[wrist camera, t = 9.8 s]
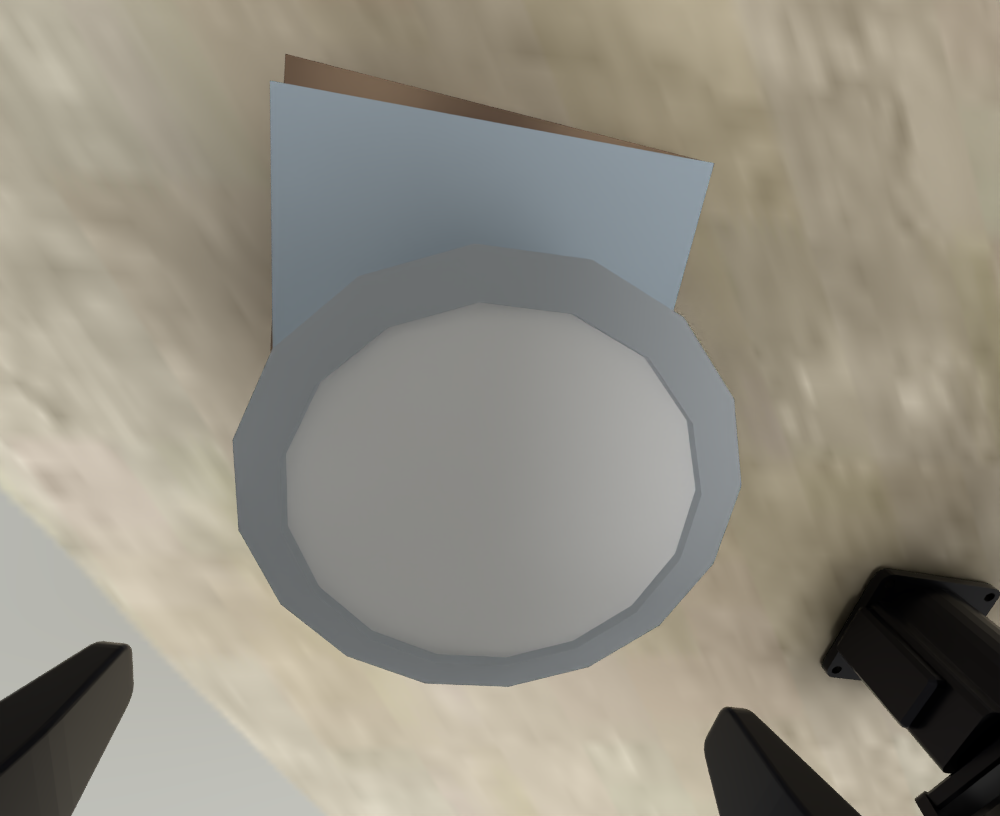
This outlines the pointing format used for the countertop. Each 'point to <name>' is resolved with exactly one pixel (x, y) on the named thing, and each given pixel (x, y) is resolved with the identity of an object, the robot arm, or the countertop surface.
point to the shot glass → (486, 466)
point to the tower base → (423, 100)
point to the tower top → (459, 197)
